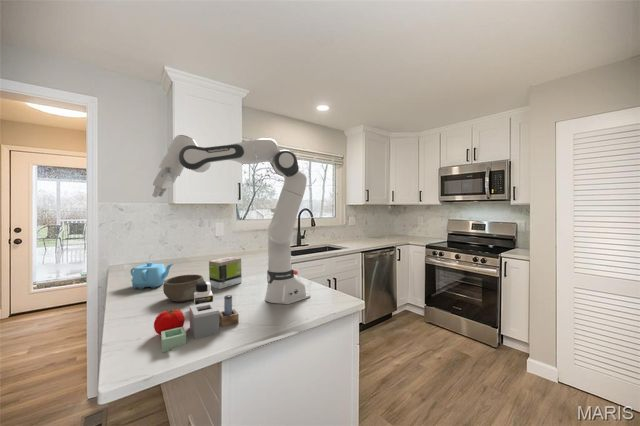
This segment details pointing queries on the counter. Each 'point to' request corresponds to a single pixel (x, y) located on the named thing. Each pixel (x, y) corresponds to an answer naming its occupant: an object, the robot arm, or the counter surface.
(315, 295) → the counter surface
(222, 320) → the holder
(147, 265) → the teapot
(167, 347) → the rest socket
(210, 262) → the tea box
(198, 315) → the grey hollow block
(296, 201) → the robot arm
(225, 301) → the grey rod
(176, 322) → the tomato
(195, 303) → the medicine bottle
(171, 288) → the bowl
